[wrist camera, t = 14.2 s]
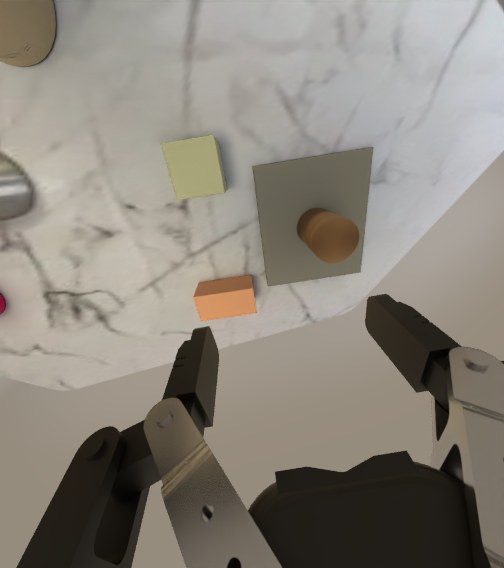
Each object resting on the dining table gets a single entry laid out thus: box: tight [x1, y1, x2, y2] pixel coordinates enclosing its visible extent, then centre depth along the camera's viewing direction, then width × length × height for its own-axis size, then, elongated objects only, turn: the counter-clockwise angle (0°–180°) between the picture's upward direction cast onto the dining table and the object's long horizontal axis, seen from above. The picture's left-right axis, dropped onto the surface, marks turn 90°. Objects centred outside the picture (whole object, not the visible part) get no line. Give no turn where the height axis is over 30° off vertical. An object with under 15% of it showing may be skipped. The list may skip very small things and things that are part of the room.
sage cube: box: [161, 135, 227, 200], centre depth 23 cm, size 5×5×5 cm
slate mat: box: [253, 147, 373, 286], centre depth 29 cm, size 16×14×1 cm
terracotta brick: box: [193, 275, 257, 321], centre depth 31 cm, size 8×4×4 cm, turn 98°
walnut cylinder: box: [297, 208, 359, 263], centre depth 25 cm, size 5×5×7 cm
